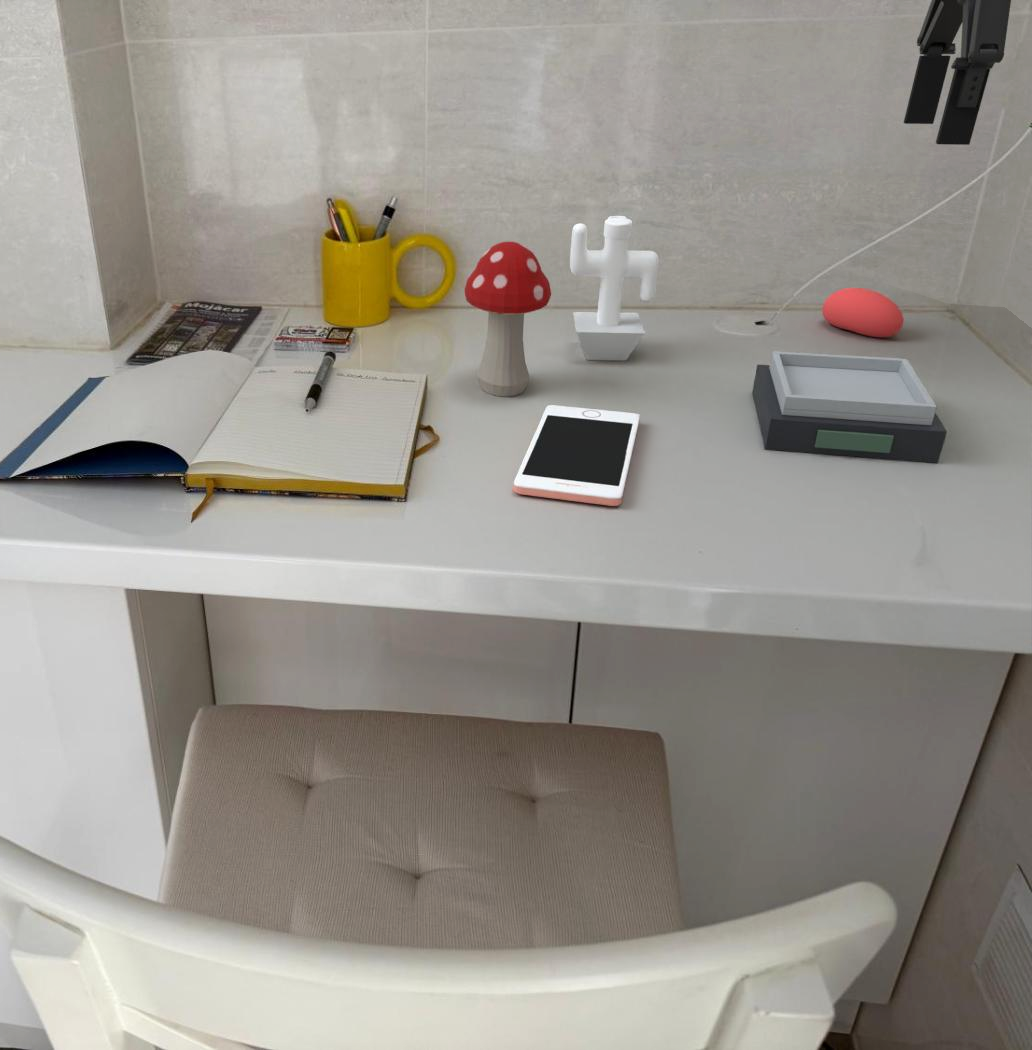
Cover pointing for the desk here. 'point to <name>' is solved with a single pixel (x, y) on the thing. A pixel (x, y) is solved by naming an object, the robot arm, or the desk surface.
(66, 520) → the desk surface
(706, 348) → the desk surface
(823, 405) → the scale
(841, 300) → the stress ball
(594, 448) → the cell phone
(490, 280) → the decorative mushroom
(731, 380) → the desk surface
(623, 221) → the figurine
